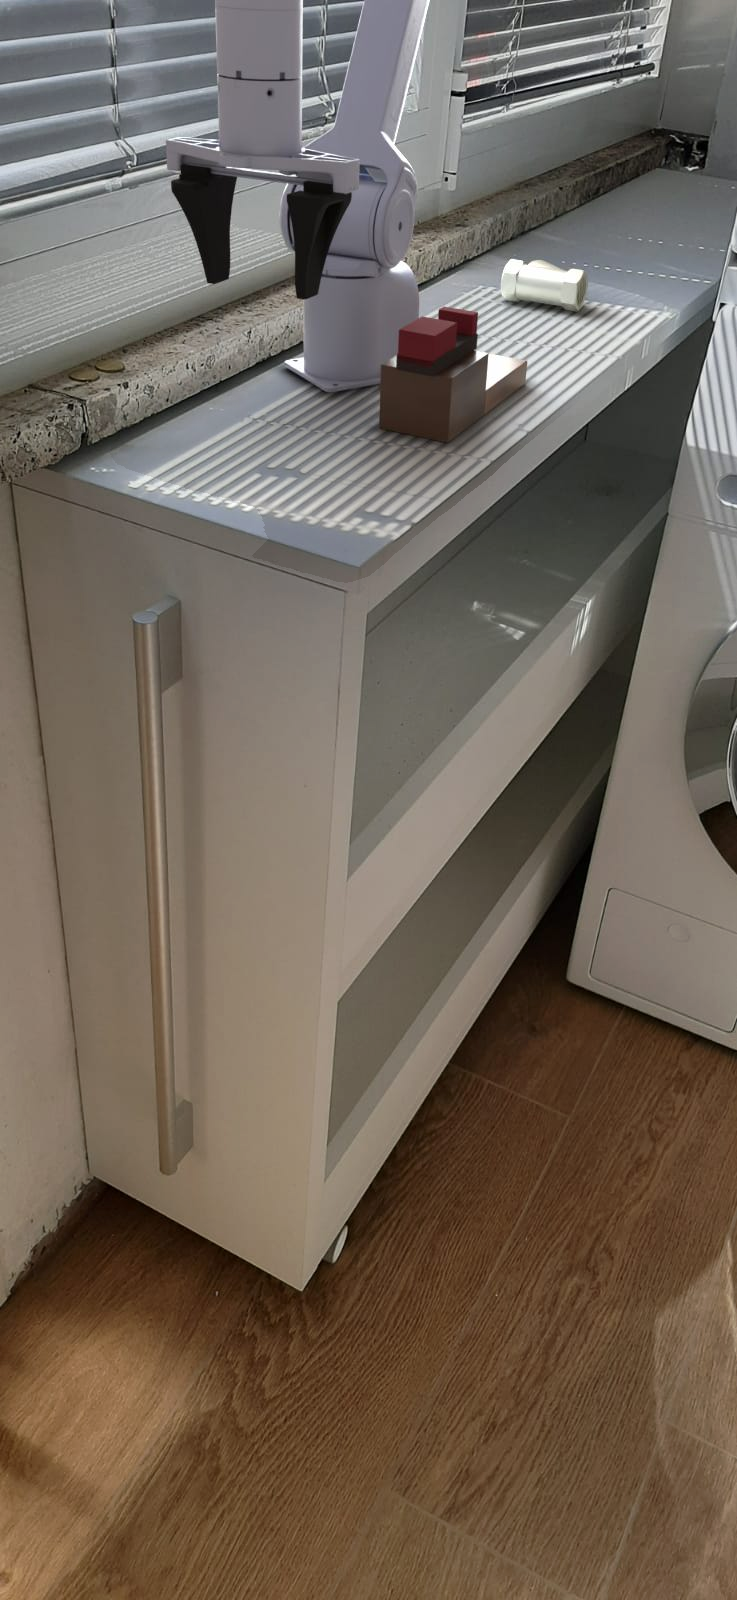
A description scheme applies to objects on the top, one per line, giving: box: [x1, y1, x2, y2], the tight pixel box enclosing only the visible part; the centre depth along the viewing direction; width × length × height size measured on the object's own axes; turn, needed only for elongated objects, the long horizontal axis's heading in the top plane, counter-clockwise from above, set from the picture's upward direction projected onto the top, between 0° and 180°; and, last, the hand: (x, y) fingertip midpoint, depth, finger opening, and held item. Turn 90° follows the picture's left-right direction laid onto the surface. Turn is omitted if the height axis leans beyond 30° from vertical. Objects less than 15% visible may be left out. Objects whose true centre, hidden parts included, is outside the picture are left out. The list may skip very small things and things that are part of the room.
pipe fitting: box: [500, 258, 589, 313], centre depth 128 cm, size 8×4×7 cm
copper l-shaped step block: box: [378, 350, 528, 444], centre depth 102 cm, size 16×6×5 cm, turn 152°
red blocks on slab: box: [396, 306, 479, 377], centre depth 97 cm, size 8×3×3 cm, turn 152°
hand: (262, 288), depth 92 cm, fingers open, 7 cm apart
